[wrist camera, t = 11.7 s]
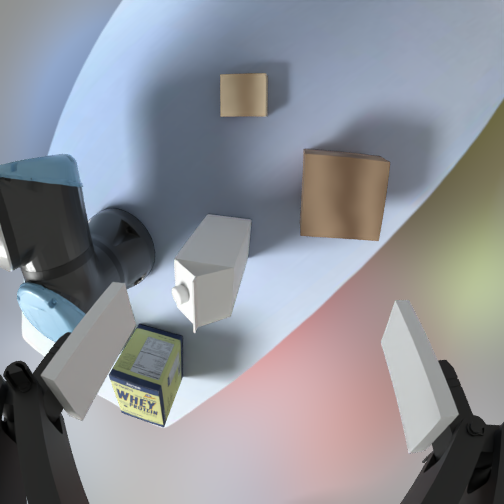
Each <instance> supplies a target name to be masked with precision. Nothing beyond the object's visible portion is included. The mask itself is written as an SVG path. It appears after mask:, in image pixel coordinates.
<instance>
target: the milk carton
mask: <svg viewBox="0 0 504 504" xmlns="http://www.w3.org/2000/svg"><path fill="white" fill-rule="evenodd" d="M250 232H251V219H243V218H235V217H227V216H219V215H211V214H207V215H206V217H205V218H204V219H203V221H202V222H201V223H200V224H199V226H198V227H197V228H196V230H195V231H194V232H193V234H192V235H191V236H190V238H189V239H188V240H187V242H186V243H185V244H184V246H183V247H182V249H181V250H180V251H179V253H178V254H177V255H176V257H175V259H174V268H175V287H173V288H172V295H173V298H174V300H175V302H176V303H177V307H178V309H179V310H180V311H181V312H182V313H183V314H184V315H185V316H186V317H187V318H188V319H189V320H190V321H191V322H192V323H193V332H194V333H195V332H196V330H197V328H198V327H200V326H203V325H206V324H210V323H213V322H216V321H219V320H222V319H225V318H228V317H231V314H232V311H233V307H234V304H235V301H236V297H237V294H238V290H239V287H240V284H241V280H242V277H243V273H244V270H245V267H246V263H247V260H248V253H249V243H250Z"/></svg>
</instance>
